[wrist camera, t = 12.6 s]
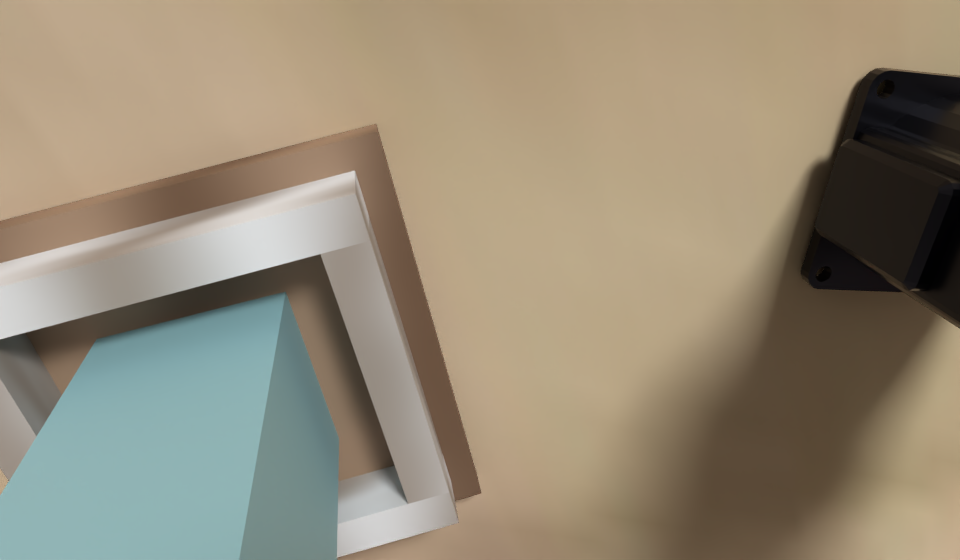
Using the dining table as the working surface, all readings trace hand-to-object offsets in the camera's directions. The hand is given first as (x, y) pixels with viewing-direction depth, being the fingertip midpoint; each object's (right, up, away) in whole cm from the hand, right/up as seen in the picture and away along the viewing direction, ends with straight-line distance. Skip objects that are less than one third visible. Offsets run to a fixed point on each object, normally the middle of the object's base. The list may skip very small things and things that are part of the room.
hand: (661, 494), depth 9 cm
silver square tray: (-9, 0, +12) cm, 15 cm away
